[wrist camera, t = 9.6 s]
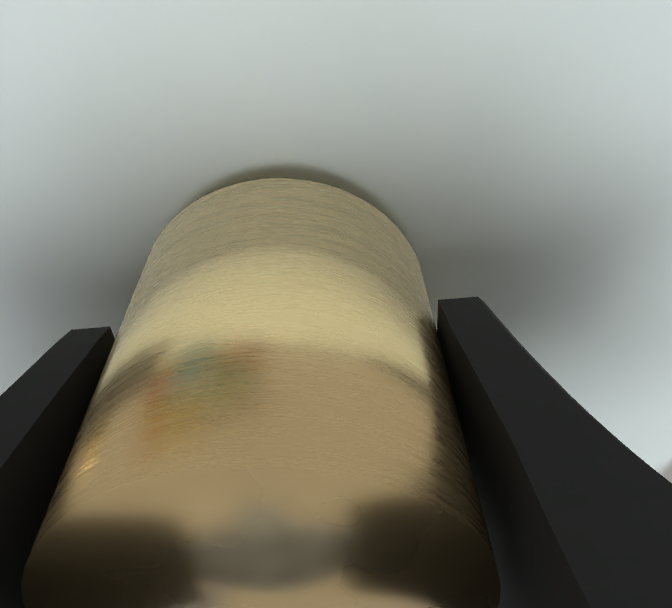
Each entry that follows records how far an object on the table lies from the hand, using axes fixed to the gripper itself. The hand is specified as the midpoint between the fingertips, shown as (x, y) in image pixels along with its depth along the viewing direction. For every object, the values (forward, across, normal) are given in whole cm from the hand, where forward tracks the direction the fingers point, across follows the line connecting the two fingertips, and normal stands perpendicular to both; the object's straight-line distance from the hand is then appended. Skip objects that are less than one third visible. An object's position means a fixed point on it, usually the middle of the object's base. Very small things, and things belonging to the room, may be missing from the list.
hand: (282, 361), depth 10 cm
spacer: (+2, 0, 0) cm, 2 cm away
